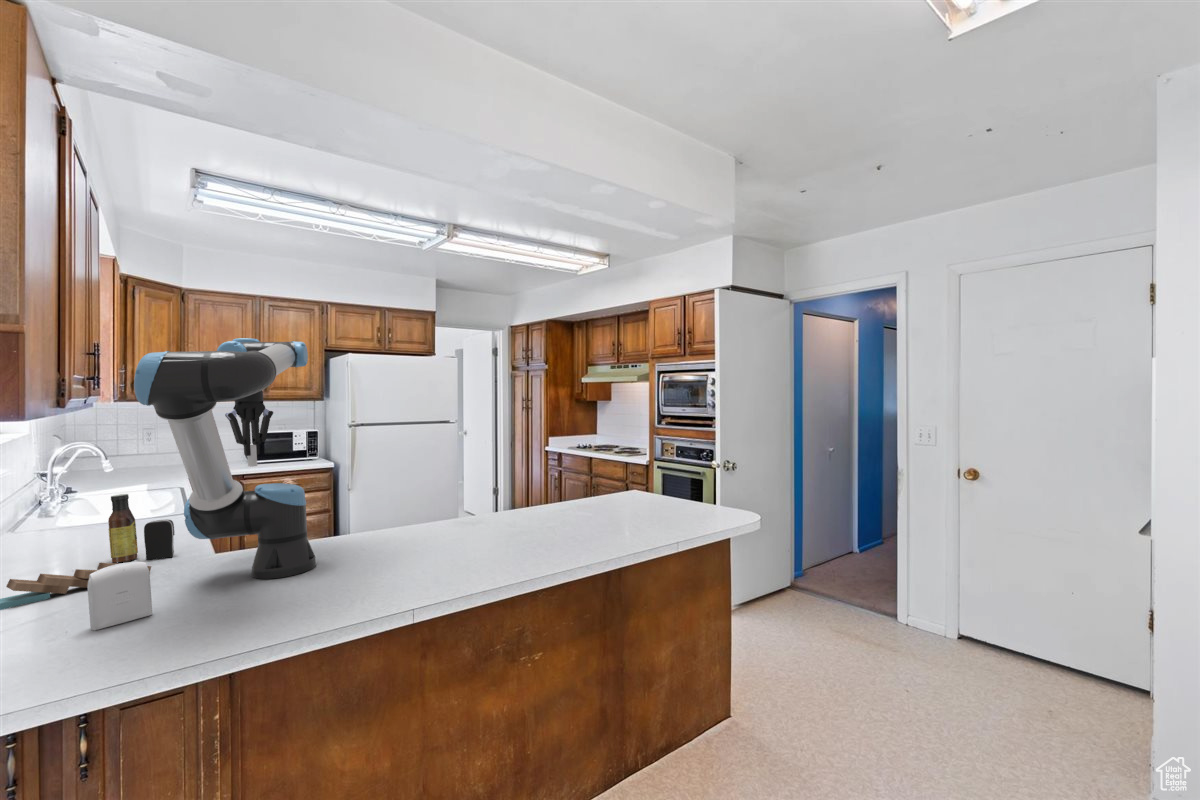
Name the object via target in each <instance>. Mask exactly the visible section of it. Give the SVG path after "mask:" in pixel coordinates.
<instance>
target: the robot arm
mask: <svg viewBox="0 0 1200 800" xmlns="http://www.w3.org/2000/svg"><path fill="white" fill-rule="evenodd" d="M308 359H309V354H308V347H307V344H306V343H305V342H303V341H294V340H293V341H292V340H291V341H260V340H259V339H257V338H252V337H251V338H250V337H248V338H247V337H245V338H244V337H241V338H234V339H232V340H229V341H225V342H223V343H221V344H220V345H218V347H217V349H216V350H206V351H205V350H204V351H201V350H198V351H197V350H196V351H169V350H165V351H160V352H158V351H156V352H149V353H146V354H145V355H143V356H142V358H140V360H139V361H138V363H137V366H136V369H135V373H134V380H133V387H134V388H133V389H134V395H135V399H136V401H138V403H139V404H141V405H143V406H149V407H150V406H153V408H154V411H155V413H156V415H157V417H159V418H160V419H162V420H166V421H167V422H168V424H169V427H170V431H171V433H172V436H173V439H174V441H175V444H176V447H177V450H178V453H179V455H180V458H181V460H182V464H183V466H184V469H185V472H186V475H187V478H188V480H189V483H190V486H191V488H192V492H191V493H190V495H189V497H188V499H187V500H186V502H185V504H184V509H183V516H184V524H185V527H186V529H187V531H188V533H189V534H190V535H191V536H192V537H194V538H195V539H198V540H217V539H225V538H235V537H242V536H251V535H253V536H254V535H257V549H256V552H255V556H254V559H253V562H252V565H251V576H252V577H253V578H255V579H260V580H262V579H263V580H269V579H270V580H271V579H273V580H274V579H281V578H286V577H292V576H295V575H299V574H302V573H306V572H308V571H310V570H312V569H314V568H315V567H316V566H317V564H316V560H317V559H316V555H315V552H314V550H313V547H312V546H311V543H310V541H309V539H308V527H307V526H308V523H307V501H306V493H305V488H303V487H302V486H301V485H298V484H294V483H292V484H291V483H275V482H274V483H263V484H258V485H256V486H255V488H254V490H244V489H243V488H244V487H243V485H242V484H241V483H240V481H238V480H236V479H233V476H232V472H231V470H230V466H229V465H230V464H229V463H228V460H227V455H226V452H225V449H224V447H223V446H224V445H223V443H222V442H223V441H222V440H221V435H220V434H219V429H218V427H217V423H216V420H215V417H214V414H213V411H212V410H214V408H215V407H216V406H217V404H218V403H222V402H223V403H225V402H232V401H234V406H233V409H232V410H231V411H229V412H226V413H225V414H224V415H225V417H226V419H227V420H228V421H229V423H230V427H231V430H232V433H233V436H234V440H235V442H236V444H238V445H242V446H243V455H244V457H247V467H250V468H251V467H252V468H253V467H254V468H255V467H258V456H259V455H260V451H261V450H260V445H261V444H262V443H264V442H266V441H267V436H268V431H269V426H270V422H271V418H272V416H273V414H274V411H272V410H269V409H267V408H266V406H265V403H264V390H265V389H266V388H268V387H270V386H271V385H272V384H273V383H274V381H275V380H276V377H278V375H280V374H282V373H283V372H285V371H286V370H288V369H289V368H301V367H306V366H307V364H308ZM262 415H263V416H262ZM237 416H238V417H239V418H240V422H241V427H240V425H239V421H238V419H237ZM261 416H262V419H261V424H260V417H261ZM241 430H242V431H241Z"/></svg>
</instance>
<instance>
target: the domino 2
mask: <svg viewBox="0 0 1200 800" xmlns="http://www.w3.org/2000/svg"><path fill="white" fill-rule="evenodd" d="M48 598H50V599H51V593H44V592H26V593H20V594H16V595H10V596H7V597H2V598H0V611H2V610H5V609H10V608H9V607H11V608H14V607H13V606H15V607H18V605H19V606H22V605H21V604H24V605H27V604H26V603H28V604H31V602H32V603H35V601H37V602H40V600H41V601H46V600H49V599H48Z"/></svg>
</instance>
